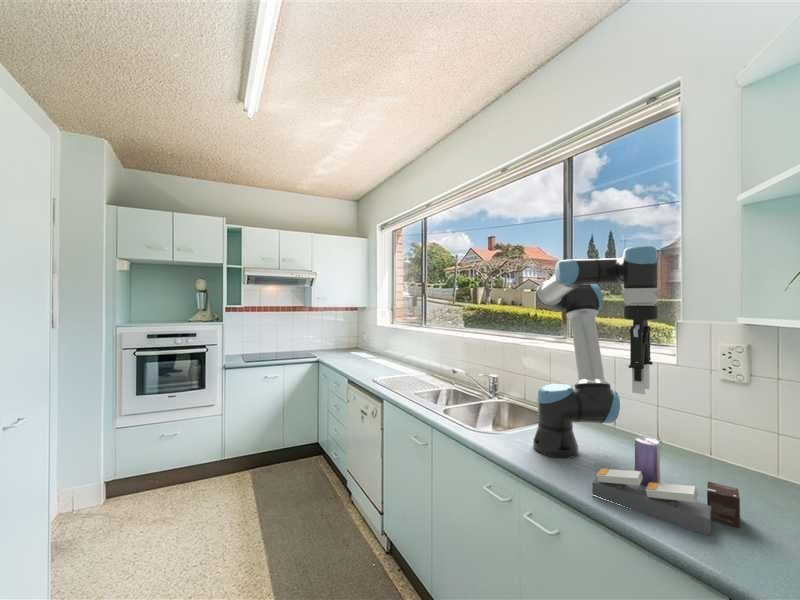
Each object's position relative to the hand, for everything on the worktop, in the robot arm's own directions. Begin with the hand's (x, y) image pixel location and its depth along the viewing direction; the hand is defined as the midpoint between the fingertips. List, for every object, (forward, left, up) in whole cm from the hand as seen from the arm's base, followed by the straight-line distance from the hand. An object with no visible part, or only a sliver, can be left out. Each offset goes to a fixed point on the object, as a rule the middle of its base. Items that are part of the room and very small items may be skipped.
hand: (641, 390), depth 96 cm
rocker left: (-5, -1, -25) cm, 26 cm away
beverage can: (0, +8, -31) cm, 32 cm away
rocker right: (+7, -1, -25) cm, 26 cm away
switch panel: (+2, -1, -31) cm, 31 cm away
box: (+16, +6, -31) cm, 36 cm away
